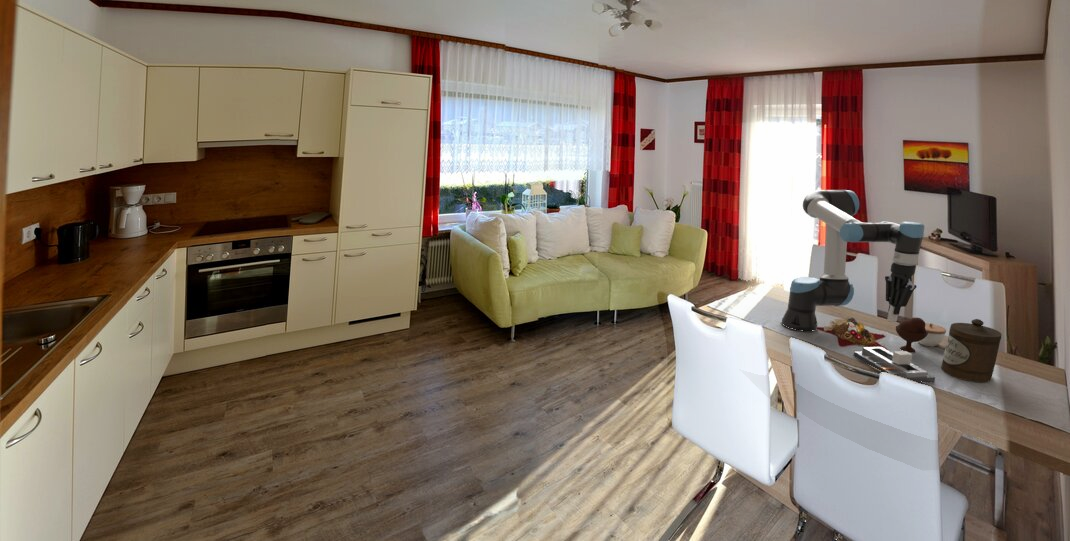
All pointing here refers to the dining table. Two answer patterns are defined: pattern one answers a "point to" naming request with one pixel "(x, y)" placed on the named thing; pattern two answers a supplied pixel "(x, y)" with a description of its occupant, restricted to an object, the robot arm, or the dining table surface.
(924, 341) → the lidded jar
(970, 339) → the wooden container
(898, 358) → the fader knob
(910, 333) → the ice cream bowl
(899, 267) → the robot arm
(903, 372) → the fader console
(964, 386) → the dining table surface
